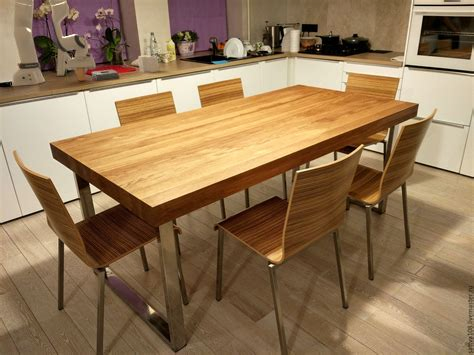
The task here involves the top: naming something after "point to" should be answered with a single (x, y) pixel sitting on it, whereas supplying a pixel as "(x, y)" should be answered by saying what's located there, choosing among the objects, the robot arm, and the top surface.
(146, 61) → the corner bracket
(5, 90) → the top surface
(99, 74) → the square hole plate
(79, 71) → the square block
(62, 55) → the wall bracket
